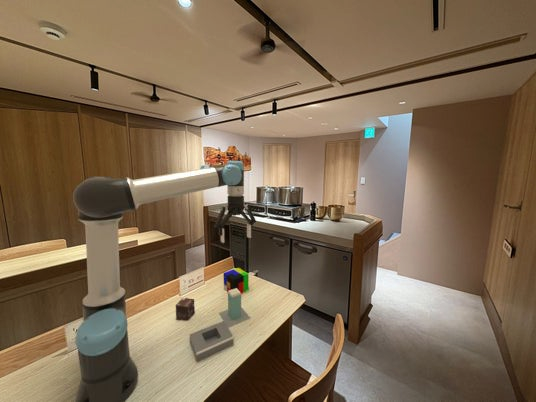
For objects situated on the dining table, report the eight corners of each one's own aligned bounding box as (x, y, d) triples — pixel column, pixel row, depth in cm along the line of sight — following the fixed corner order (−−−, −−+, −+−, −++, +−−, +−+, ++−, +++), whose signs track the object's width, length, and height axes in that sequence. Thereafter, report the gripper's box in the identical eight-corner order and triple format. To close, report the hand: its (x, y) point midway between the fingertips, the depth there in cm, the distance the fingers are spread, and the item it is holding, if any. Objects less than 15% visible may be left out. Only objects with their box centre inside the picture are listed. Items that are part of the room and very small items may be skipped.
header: (196, 363, 74) (196, 353, 74) (189, 343, 83) (189, 334, 82) (233, 346, 82) (233, 337, 81) (223, 329, 90) (223, 320, 90)
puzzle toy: (223, 289, 121) (223, 273, 119) (238, 283, 127) (238, 267, 126) (233, 297, 113) (233, 279, 112) (248, 290, 120) (248, 273, 119)
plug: (232, 320, 95) (231, 295, 93) (228, 314, 99) (227, 290, 97) (241, 316, 97) (241, 292, 96) (237, 311, 101) (236, 287, 99)
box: (187, 322, 94) (187, 307, 93) (175, 320, 96) (175, 305, 95) (195, 313, 100) (194, 298, 99) (183, 311, 101) (183, 297, 100)
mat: (227, 328, 91) (227, 327, 91) (218, 314, 100) (218, 312, 100) (250, 319, 97) (250, 318, 97) (239, 306, 106) (239, 305, 106)
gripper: (211, 197, 87) (213, 246, 90) (263, 194, 101) (262, 237, 104) (206, 195, 94) (207, 241, 97) (255, 193, 107) (255, 233, 110)
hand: (236, 239), depth 100 cm, fingers open, 13 cm apart
